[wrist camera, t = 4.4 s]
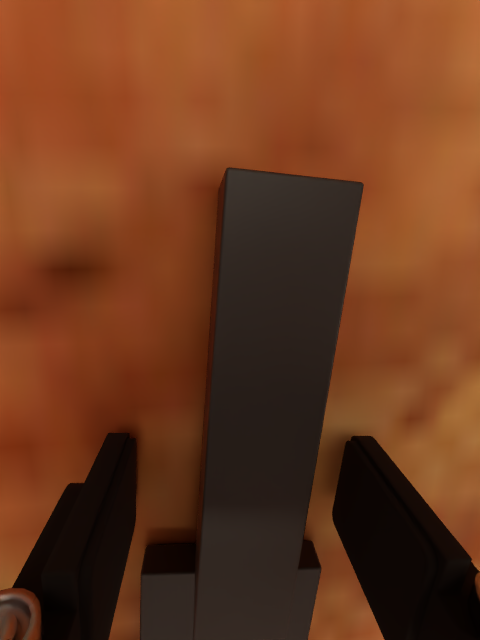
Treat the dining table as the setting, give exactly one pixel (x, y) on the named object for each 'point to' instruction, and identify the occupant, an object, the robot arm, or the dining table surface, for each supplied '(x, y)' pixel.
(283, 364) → the spatula
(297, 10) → the dining table surface
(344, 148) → the dining table surface
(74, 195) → the dining table surface
